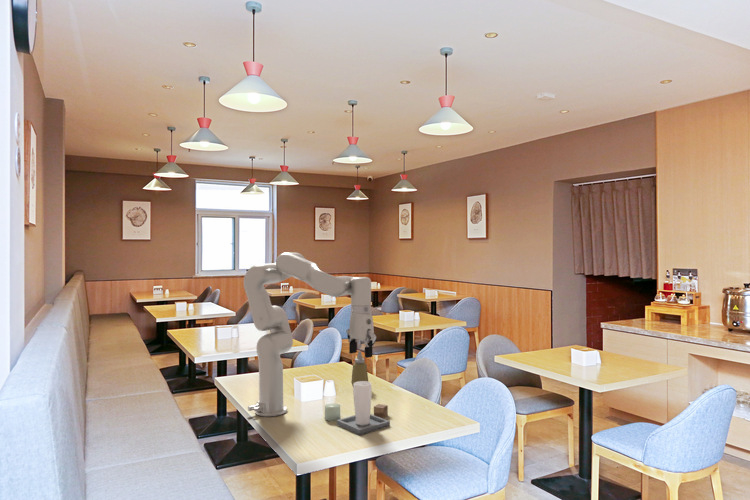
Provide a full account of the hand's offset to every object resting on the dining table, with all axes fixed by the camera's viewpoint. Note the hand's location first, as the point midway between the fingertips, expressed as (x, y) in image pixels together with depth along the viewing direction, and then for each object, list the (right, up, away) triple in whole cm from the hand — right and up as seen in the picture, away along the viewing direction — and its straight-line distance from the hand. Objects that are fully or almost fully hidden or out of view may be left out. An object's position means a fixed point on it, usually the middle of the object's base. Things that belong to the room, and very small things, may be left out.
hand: (360, 355), depth 190 cm
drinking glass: (+1, -25, -4) cm, 25 cm away
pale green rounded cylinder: (-11, -26, +4) cm, 28 cm away
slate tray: (+1, -25, -4) cm, 26 cm away
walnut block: (+8, -26, +7) cm, 27 cm away
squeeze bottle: (-2, -26, +45) cm, 52 cm away
